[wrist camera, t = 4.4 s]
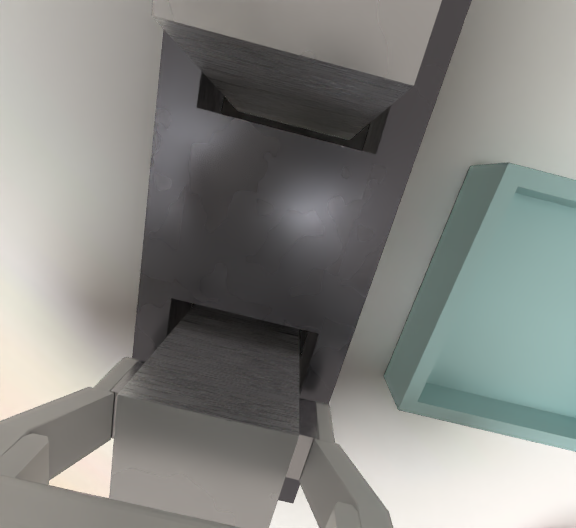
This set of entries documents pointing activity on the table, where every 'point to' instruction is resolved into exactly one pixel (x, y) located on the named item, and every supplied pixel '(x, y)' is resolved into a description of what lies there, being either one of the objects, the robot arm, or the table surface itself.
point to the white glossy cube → (305, 55)
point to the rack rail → (274, 212)
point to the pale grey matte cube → (210, 420)
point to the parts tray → (498, 312)
